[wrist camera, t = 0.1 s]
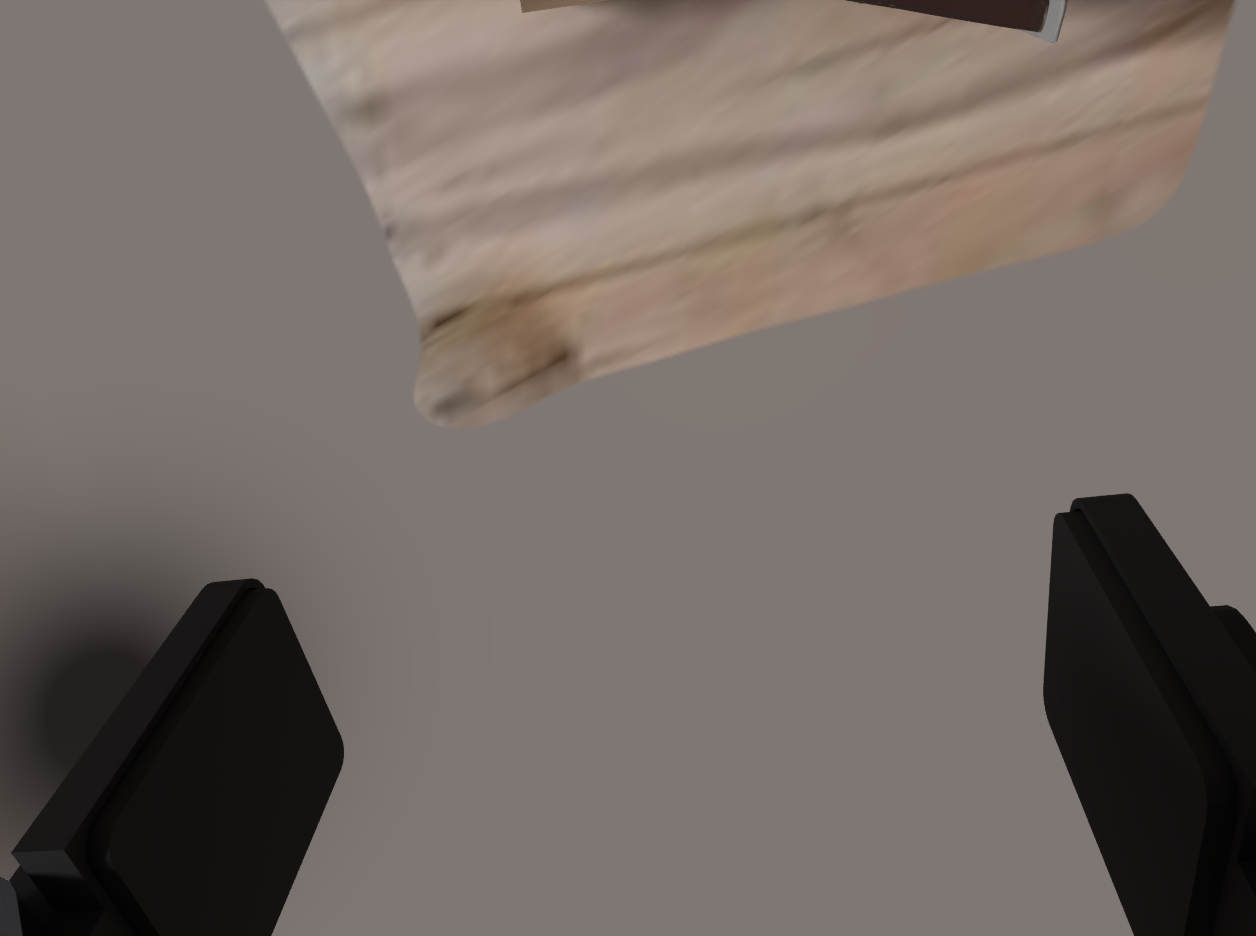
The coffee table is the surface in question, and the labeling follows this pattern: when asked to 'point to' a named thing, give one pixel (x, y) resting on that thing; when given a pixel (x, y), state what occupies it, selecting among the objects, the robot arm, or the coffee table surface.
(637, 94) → the coffee table surface
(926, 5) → the food container
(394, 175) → the coffee table surface
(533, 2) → the walnut block
